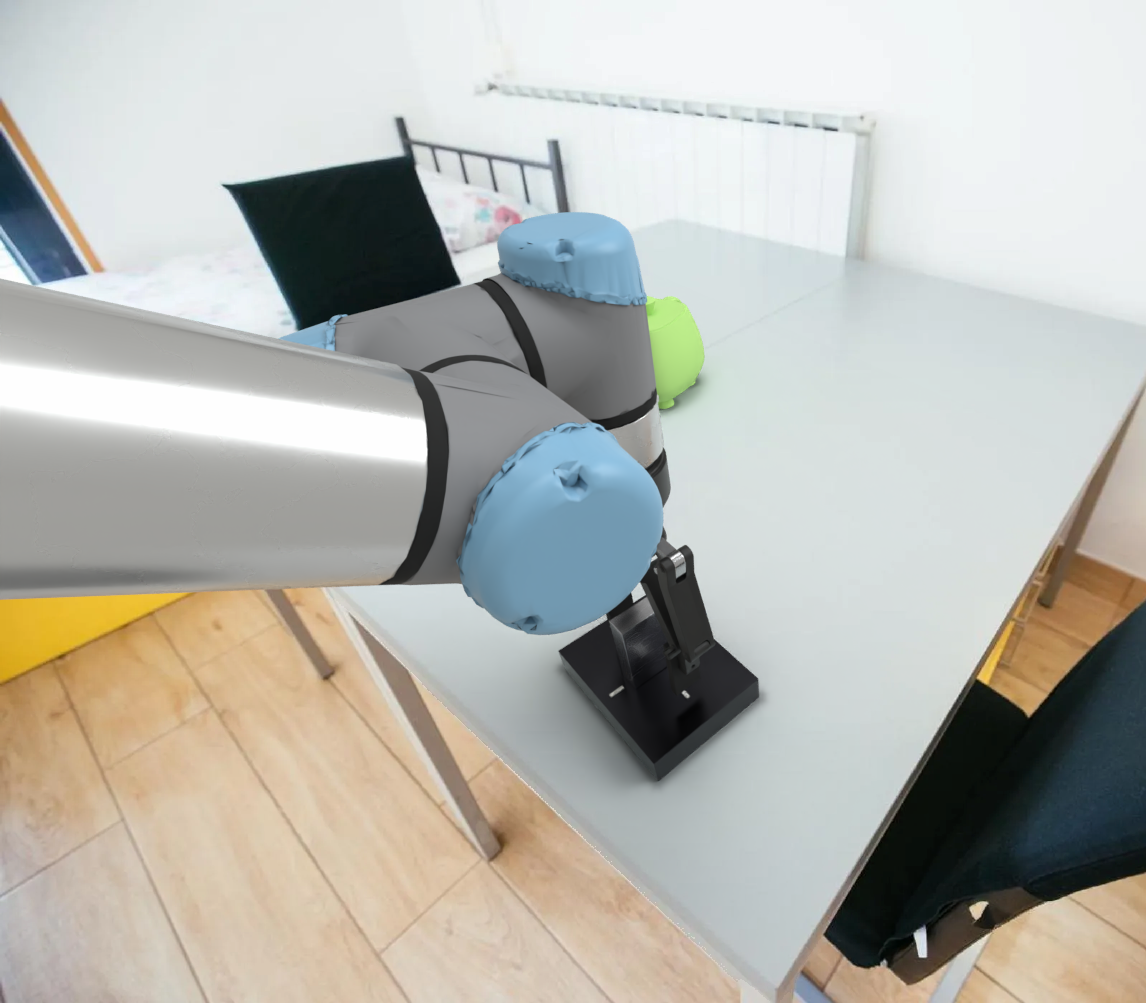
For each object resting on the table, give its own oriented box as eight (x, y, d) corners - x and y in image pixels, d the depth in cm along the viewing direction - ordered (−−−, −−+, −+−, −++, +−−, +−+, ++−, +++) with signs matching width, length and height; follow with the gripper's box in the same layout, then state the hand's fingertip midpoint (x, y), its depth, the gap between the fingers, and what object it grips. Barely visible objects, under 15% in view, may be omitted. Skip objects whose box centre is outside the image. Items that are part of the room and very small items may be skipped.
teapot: (622, 350, 118) (607, 266, 108) (724, 368, 112) (719, 280, 102) (540, 415, 101) (514, 322, 91) (655, 441, 94) (641, 344, 84)
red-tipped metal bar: (635, 689, 57) (621, 632, 52) (623, 676, 58) (608, 619, 53) (686, 652, 60) (678, 595, 55) (674, 640, 61) (664, 583, 56)
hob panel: (658, 781, 53) (653, 763, 51) (564, 669, 63) (557, 649, 61) (759, 697, 60) (758, 677, 58) (660, 605, 69) (656, 586, 67)
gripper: (758, 501, 39) (763, 701, 53) (577, 382, 52) (620, 569, 66) (662, 560, 35) (695, 759, 50) (493, 416, 48) (558, 607, 62)
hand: (652, 650), depth 58 cm, fingers open, 9 cm apart
